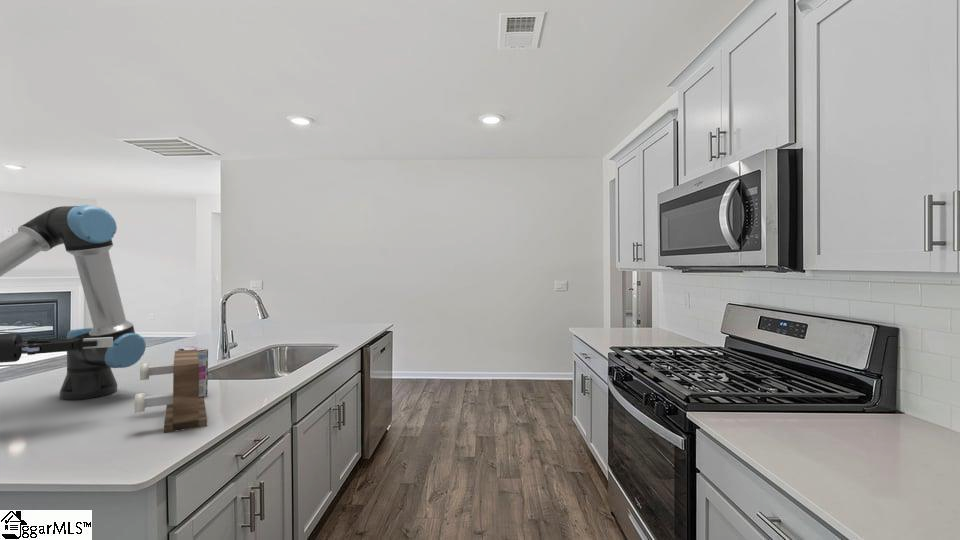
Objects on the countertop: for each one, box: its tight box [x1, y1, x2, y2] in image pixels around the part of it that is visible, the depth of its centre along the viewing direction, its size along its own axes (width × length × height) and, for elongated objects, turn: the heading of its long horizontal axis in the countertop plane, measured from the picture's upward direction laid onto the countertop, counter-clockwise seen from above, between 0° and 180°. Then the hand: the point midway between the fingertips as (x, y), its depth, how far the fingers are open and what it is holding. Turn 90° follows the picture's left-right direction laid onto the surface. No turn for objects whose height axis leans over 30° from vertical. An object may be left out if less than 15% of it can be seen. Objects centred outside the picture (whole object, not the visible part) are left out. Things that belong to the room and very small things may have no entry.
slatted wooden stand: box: [163, 349, 208, 433], centre depth 135 cm, size 24×10×18 cm, turn 33°
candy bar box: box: [177, 346, 209, 398], centre depth 156 cm, size 11×5×16 cm, turn 58°
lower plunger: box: [134, 392, 173, 414], centre depth 125 cm, size 5×12×5 cm, turn 123°
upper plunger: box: [139, 362, 174, 381], centre depth 140 cm, size 5×12×5 cm, turn 123°
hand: (112, 341), depth 132 cm, fingers closed
